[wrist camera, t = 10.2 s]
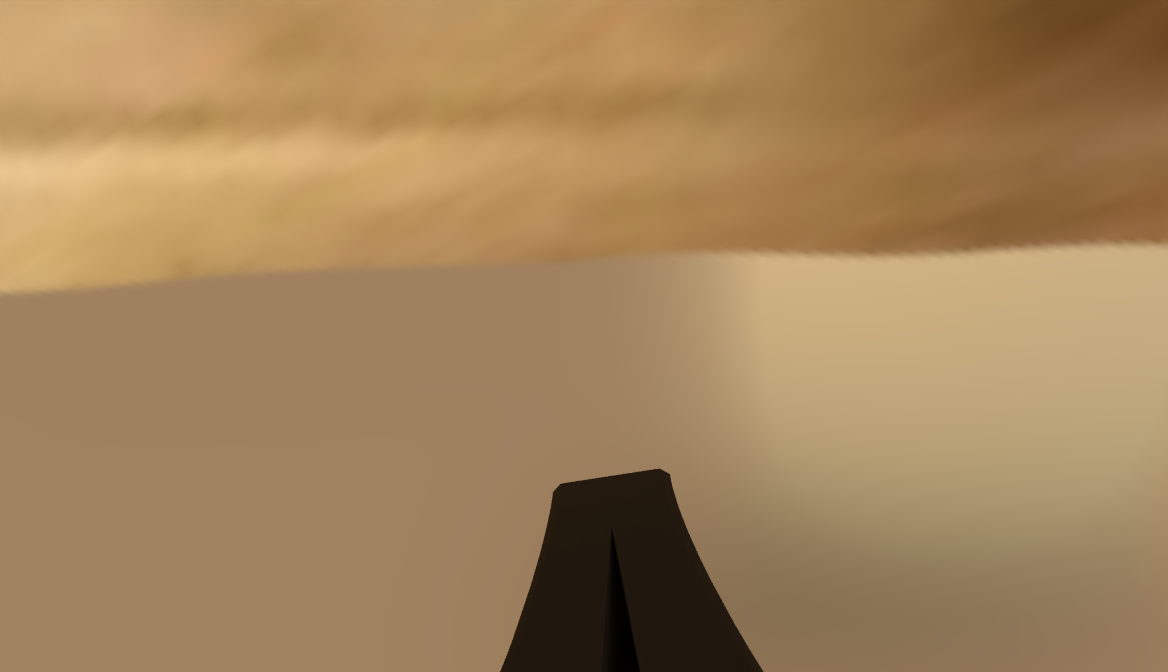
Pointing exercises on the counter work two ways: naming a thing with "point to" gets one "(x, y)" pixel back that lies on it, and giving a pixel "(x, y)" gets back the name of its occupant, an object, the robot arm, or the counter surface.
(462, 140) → the counter surface
